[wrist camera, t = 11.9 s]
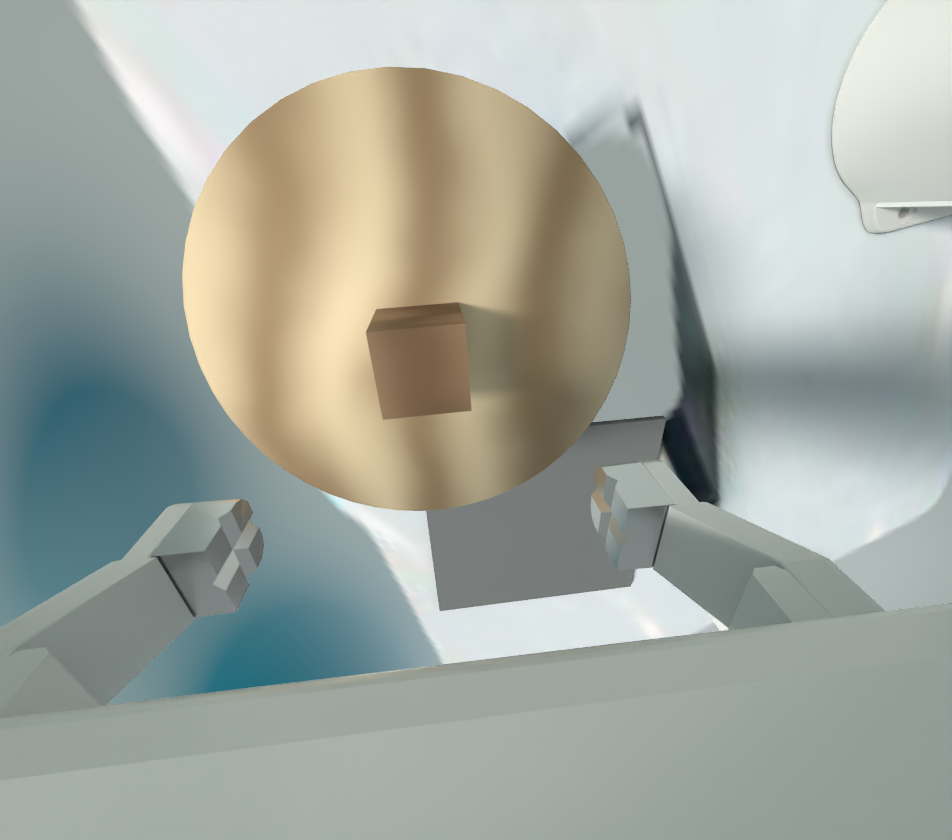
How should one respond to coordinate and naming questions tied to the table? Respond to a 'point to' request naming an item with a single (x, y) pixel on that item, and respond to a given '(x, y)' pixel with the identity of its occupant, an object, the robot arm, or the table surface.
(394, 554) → the table surface
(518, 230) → the oak bowl cover
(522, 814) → the robot arm
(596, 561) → the rubber mat
